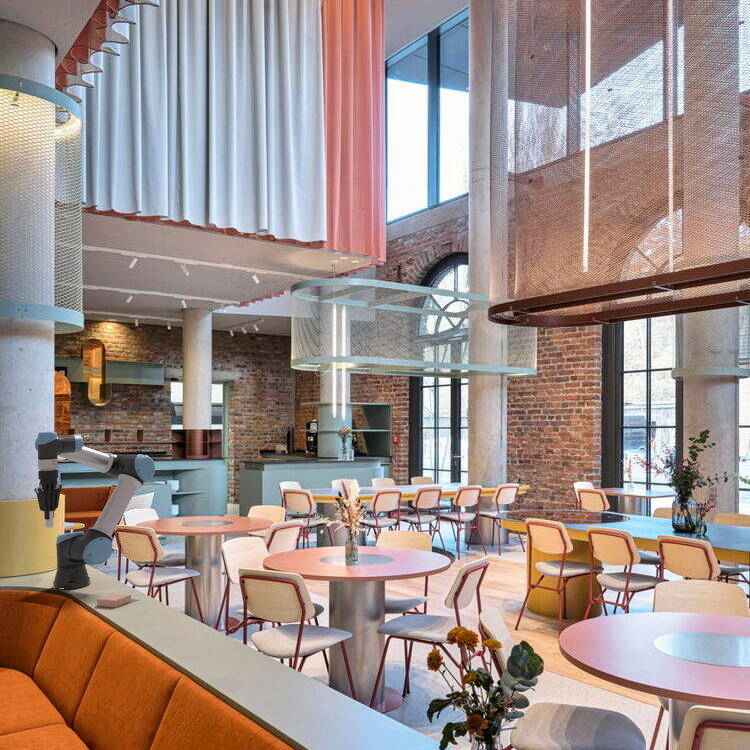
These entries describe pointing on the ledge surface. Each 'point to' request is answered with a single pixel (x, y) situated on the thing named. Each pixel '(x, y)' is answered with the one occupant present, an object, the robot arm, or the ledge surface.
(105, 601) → the block
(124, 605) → the mat
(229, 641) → the ledge surface
